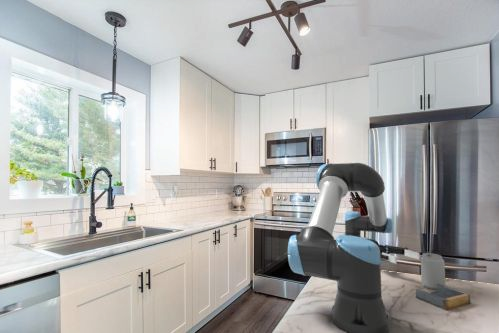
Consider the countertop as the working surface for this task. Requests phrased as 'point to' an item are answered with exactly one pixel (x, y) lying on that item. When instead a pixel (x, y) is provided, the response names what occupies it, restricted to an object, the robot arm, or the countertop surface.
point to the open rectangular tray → (444, 297)
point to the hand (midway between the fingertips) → (408, 258)
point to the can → (432, 270)
